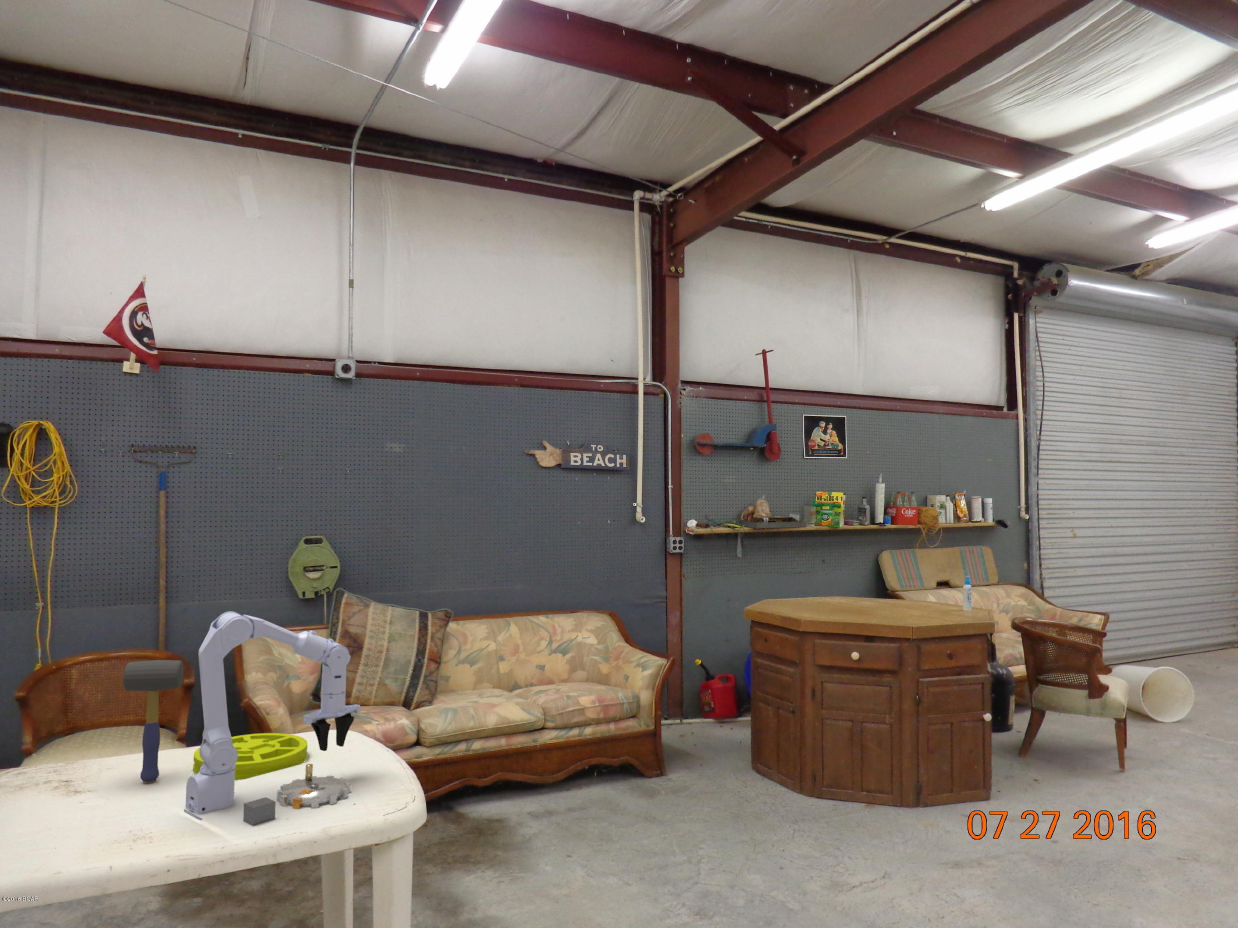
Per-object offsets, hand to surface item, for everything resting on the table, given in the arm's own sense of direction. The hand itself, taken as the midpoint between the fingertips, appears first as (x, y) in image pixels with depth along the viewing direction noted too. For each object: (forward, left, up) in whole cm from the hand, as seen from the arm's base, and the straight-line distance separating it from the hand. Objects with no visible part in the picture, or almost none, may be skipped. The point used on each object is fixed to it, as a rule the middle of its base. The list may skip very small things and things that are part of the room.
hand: (331, 747), depth 201 cm
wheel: (-8, -6, -8) cm, 13 cm away
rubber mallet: (-27, +36, -10) cm, 46 cm away
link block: (-24, -10, -10) cm, 27 cm away
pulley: (-3, +32, -10) cm, 34 cm away
